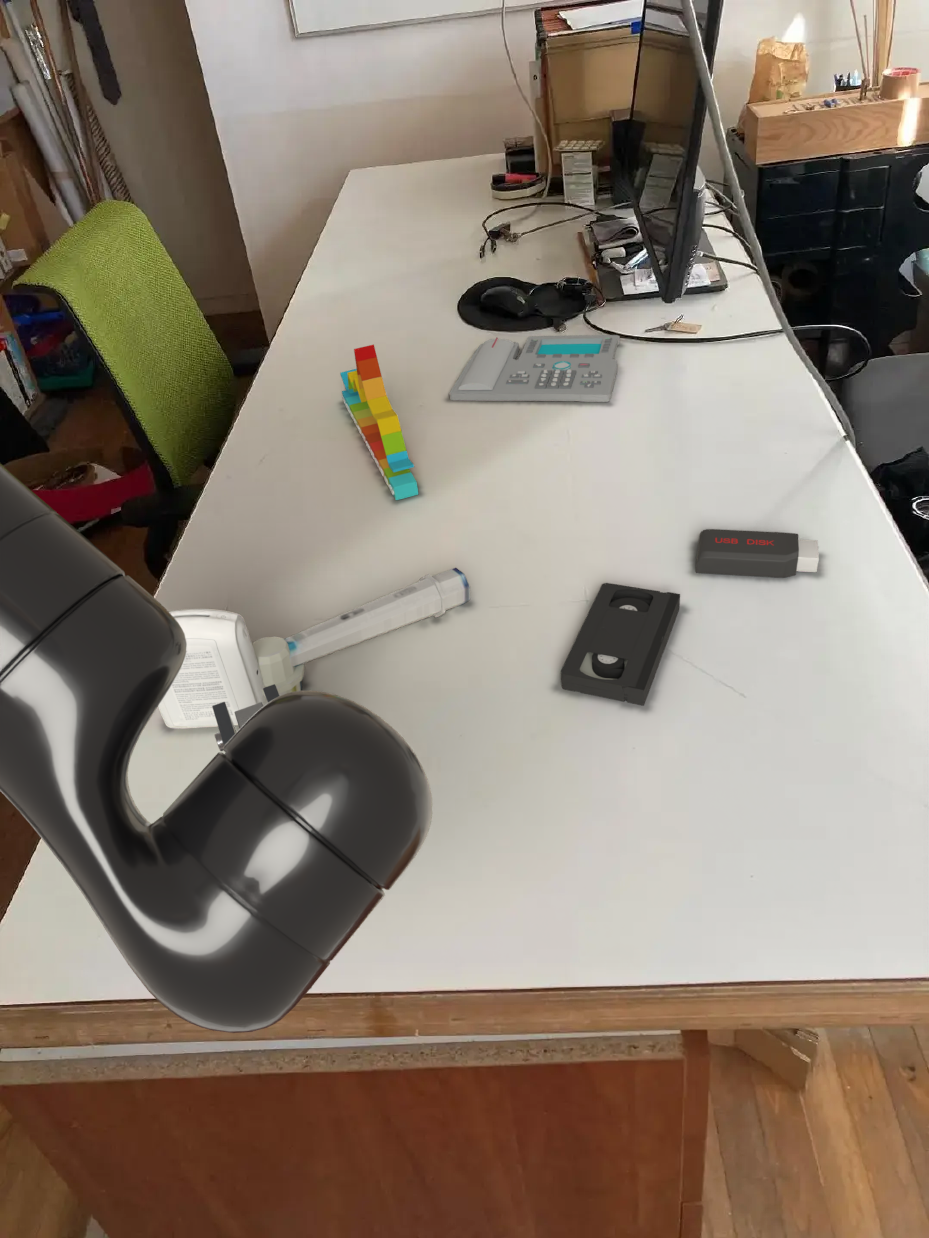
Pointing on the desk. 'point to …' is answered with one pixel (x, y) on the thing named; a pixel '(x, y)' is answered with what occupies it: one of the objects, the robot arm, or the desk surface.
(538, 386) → the office telephone
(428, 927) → the desk surface
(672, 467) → the desk surface
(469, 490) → the desk surface
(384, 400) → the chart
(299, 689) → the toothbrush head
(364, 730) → the robot arm
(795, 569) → the usb drive
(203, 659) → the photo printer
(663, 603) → the vhs tape
